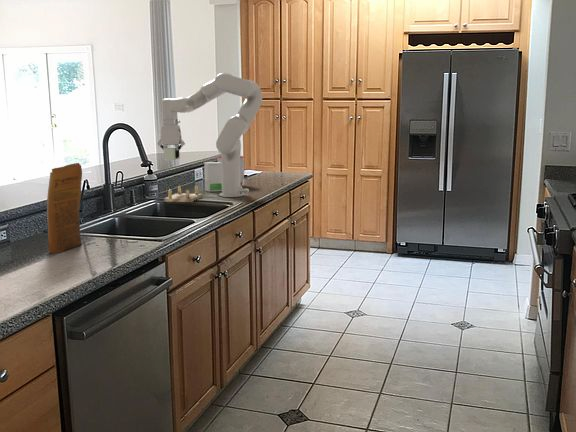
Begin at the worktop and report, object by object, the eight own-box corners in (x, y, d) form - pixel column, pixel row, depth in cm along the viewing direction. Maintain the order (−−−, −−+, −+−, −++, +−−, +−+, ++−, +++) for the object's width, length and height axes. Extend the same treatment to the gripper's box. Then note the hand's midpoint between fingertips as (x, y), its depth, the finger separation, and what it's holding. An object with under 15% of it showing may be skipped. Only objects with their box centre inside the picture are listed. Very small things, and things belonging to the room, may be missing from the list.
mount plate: (202, 196, 318) (201, 186, 317) (191, 202, 301) (191, 190, 300) (176, 196, 320) (175, 185, 319) (164, 201, 303) (163, 190, 302)
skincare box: (208, 192, 334) (207, 163, 331) (204, 190, 339) (203, 162, 336) (223, 190, 338) (222, 162, 335) (218, 189, 343) (217, 161, 340)
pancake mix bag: (93, 242, 216) (88, 162, 211) (57, 255, 198) (51, 168, 193) (77, 241, 218) (71, 161, 213) (40, 254, 200) (33, 167, 195)
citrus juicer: (247, 184, 365) (247, 149, 361) (242, 188, 348) (241, 152, 344) (221, 183, 366) (220, 149, 363) (215, 187, 349) (214, 152, 346)
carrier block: (179, 158, 327) (179, 147, 326) (173, 160, 318) (172, 148, 317) (170, 158, 328) (169, 147, 327) (164, 160, 318) (163, 148, 317)
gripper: (188, 122, 322) (189, 157, 325) (157, 122, 324) (158, 157, 328) (183, 122, 314) (185, 158, 318) (151, 123, 317) (153, 158, 321)
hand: (171, 157), depth 323 cm, fingers closed on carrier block, 5 cm apart
